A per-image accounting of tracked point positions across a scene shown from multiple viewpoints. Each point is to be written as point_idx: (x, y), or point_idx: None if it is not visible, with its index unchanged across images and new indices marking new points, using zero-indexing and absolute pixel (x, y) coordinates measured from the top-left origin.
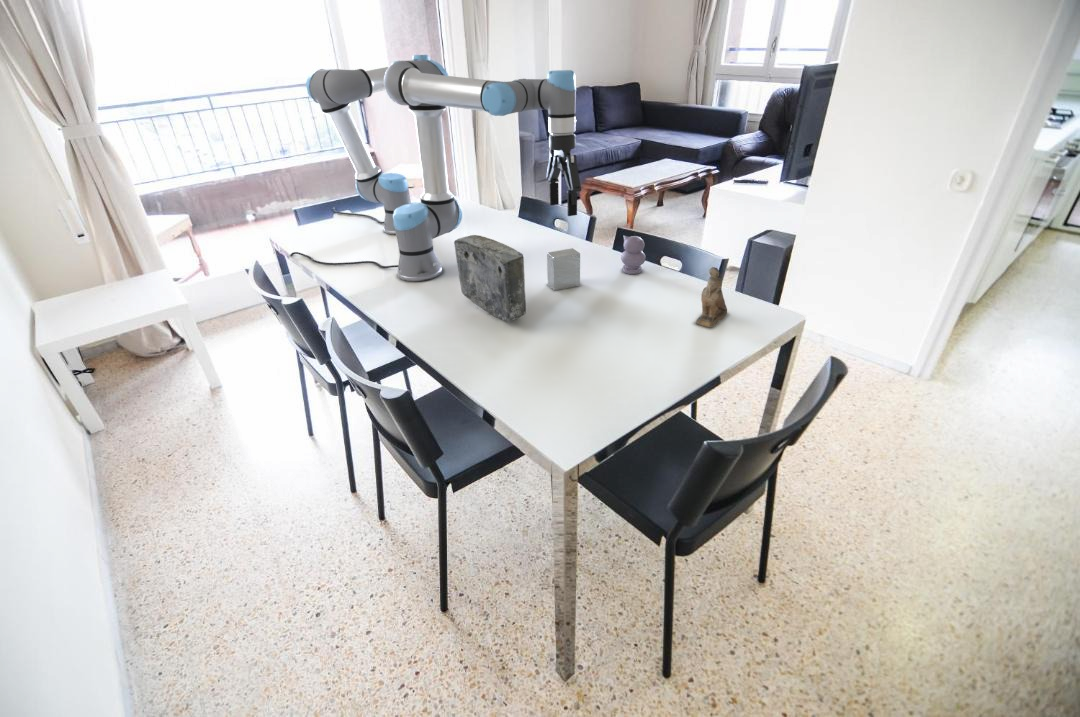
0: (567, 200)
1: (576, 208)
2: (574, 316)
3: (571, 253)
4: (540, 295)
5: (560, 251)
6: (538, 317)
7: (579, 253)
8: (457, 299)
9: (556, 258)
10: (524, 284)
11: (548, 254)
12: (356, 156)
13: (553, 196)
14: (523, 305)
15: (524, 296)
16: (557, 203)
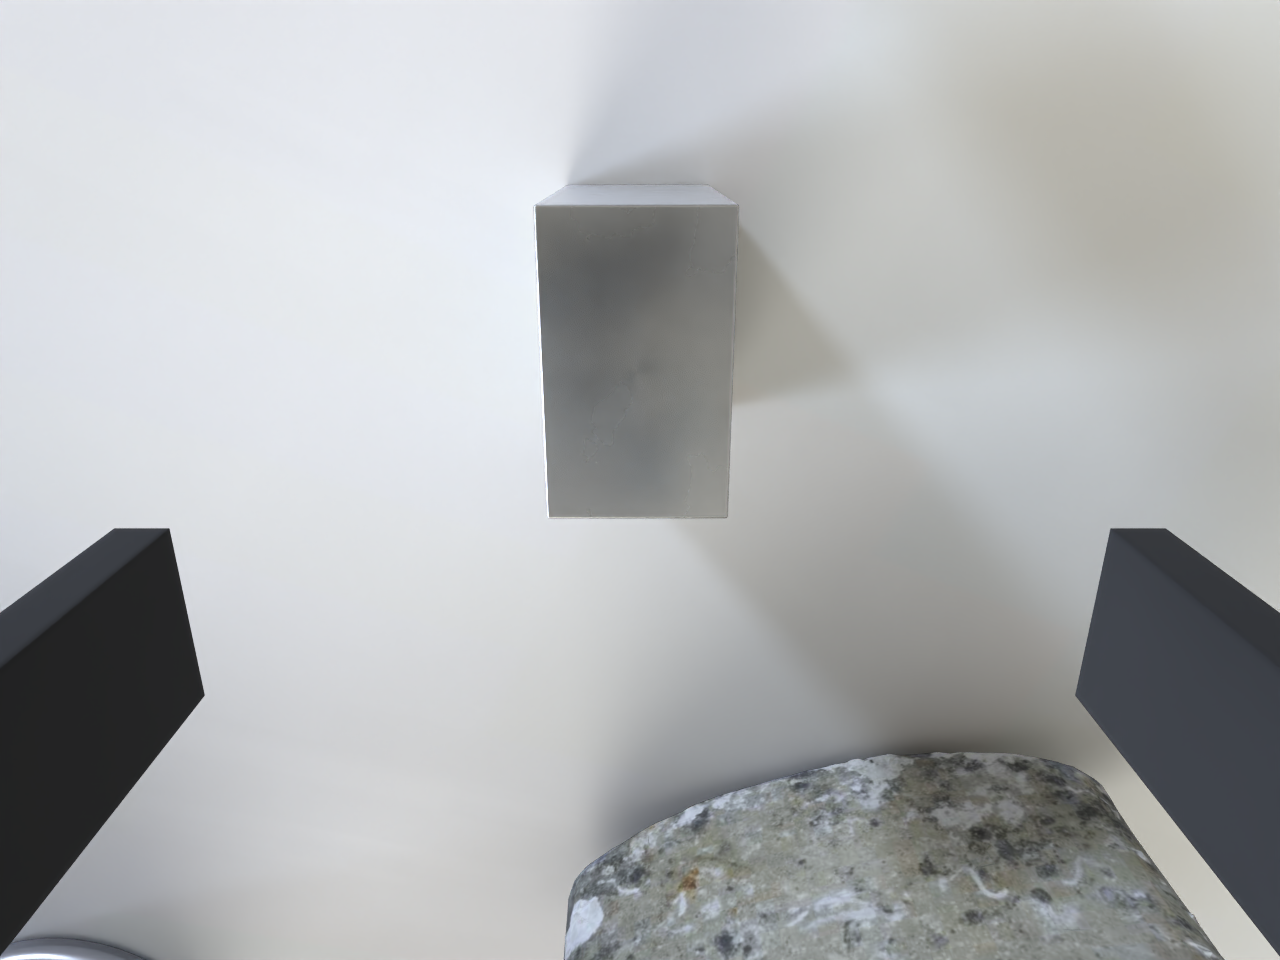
0: (1274, 947)
1: (1255, 611)
2: (1154, 453)
3: (693, 299)
4: (732, 528)
5: (578, 382)
6: (1027, 648)
7: (736, 214)
8: (558, 942)
9: (726, 484)
10: (1194, 929)
11: (592, 516)
12: None
13: (81, 756)
14: (1132, 833)
15: (1152, 864)
16: (160, 564)
